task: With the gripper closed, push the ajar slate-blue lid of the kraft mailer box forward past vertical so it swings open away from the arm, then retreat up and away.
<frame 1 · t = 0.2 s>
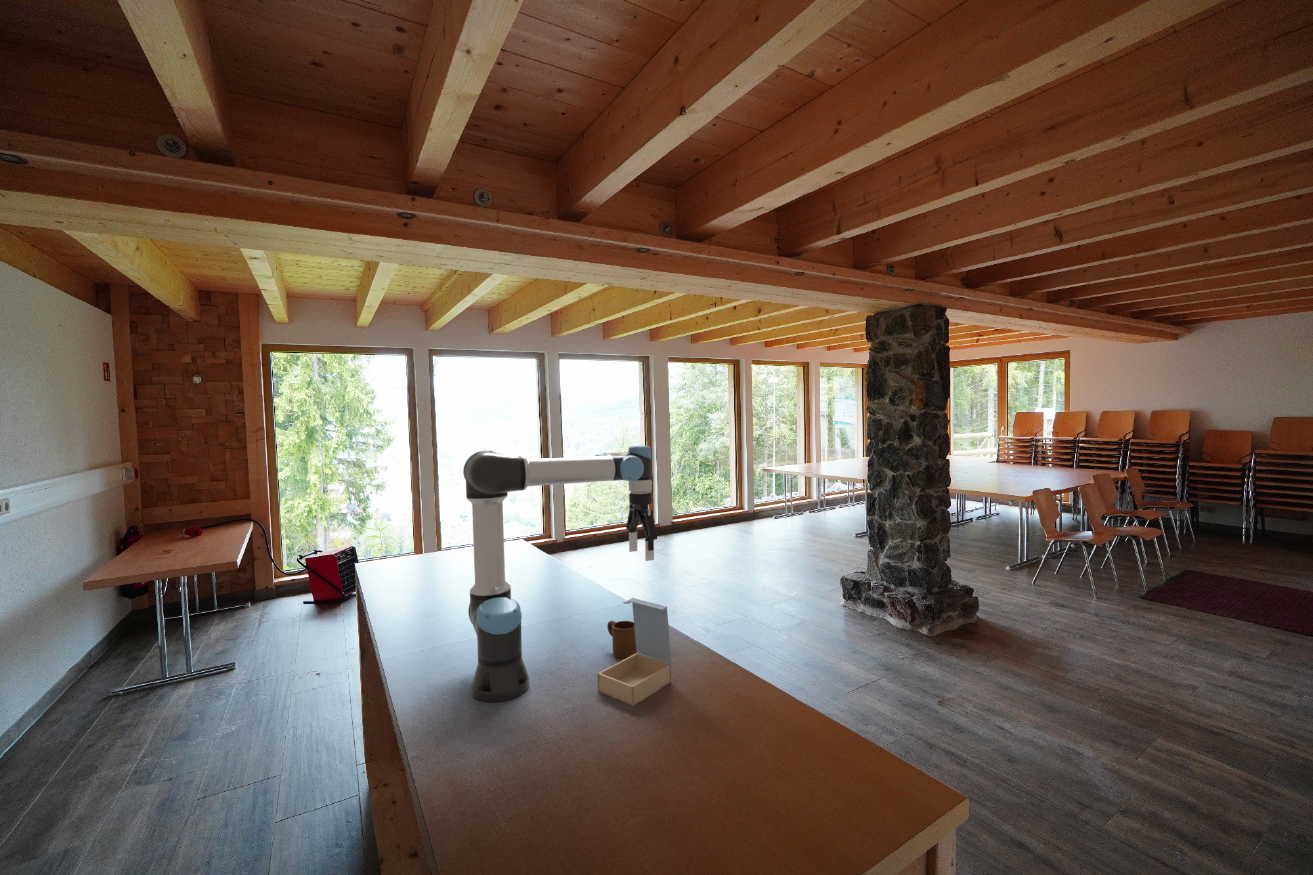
hand: (641, 555, 183), 28 cm above the table, fingers open, 13 cm apart
lid: (649, 631, 156), point 13 cm above the table, hinge at 84.0°
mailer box: (634, 686, 151), on the table
mug: (620, 653, 173), on the table
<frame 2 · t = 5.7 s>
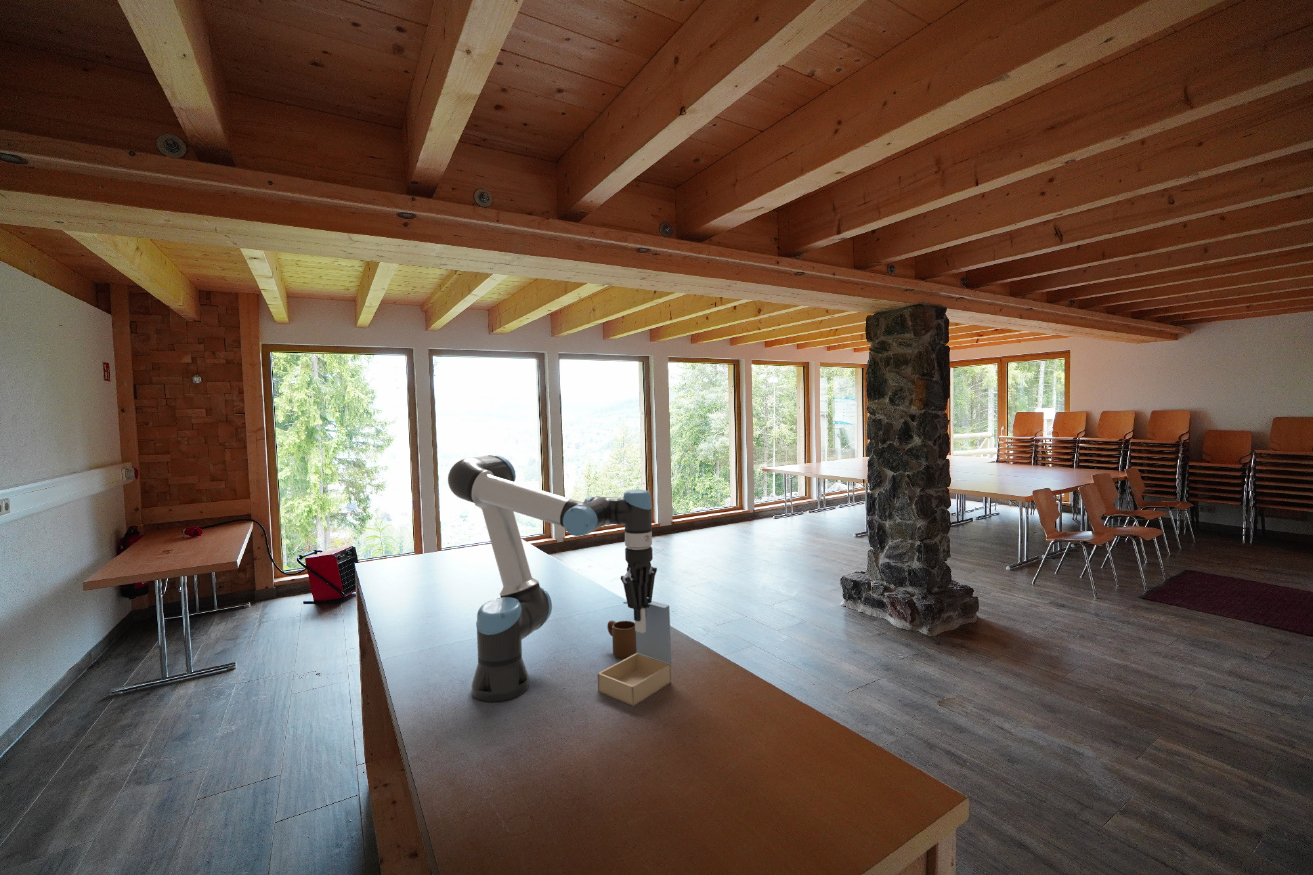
hand: (640, 631, 152), 15 cm above the table, fingers closed
lid: (650, 630, 156), point 13 cm above the table, hinge at 87.8°, touching gripper
everything else where it was.
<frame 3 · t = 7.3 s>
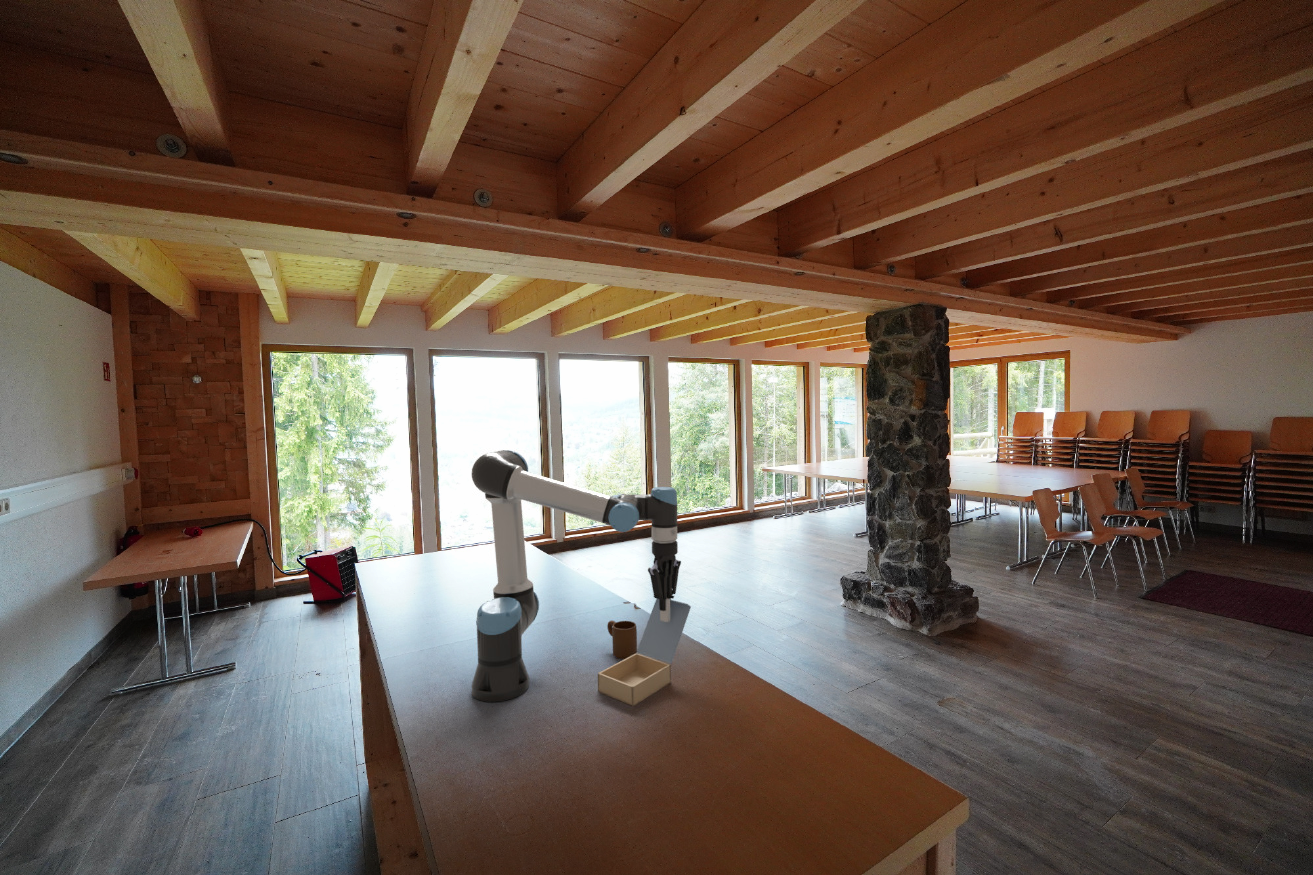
hand: (665, 620, 161), 14 cm above the table, fingers closed
lid: (662, 628, 160), point 12 cm above the table, hinge at 125.8°, touching gripper
everything else where it was.
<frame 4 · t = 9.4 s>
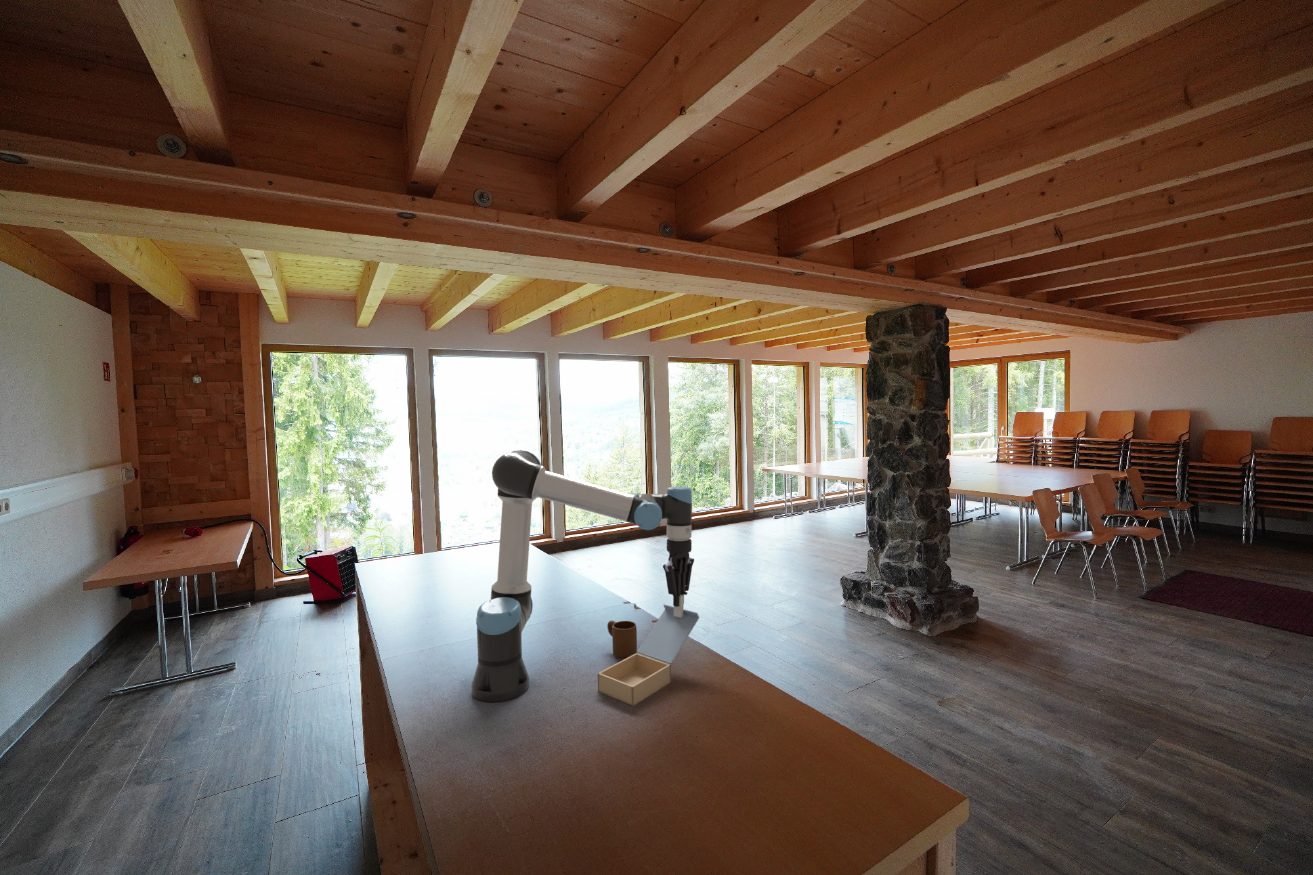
hand: (678, 616, 166), 14 cm above the table, fingers closed
lid: (667, 632, 162), point 10 cm above the table, hinge at 147.3°, touching gripper
everything else where it was.
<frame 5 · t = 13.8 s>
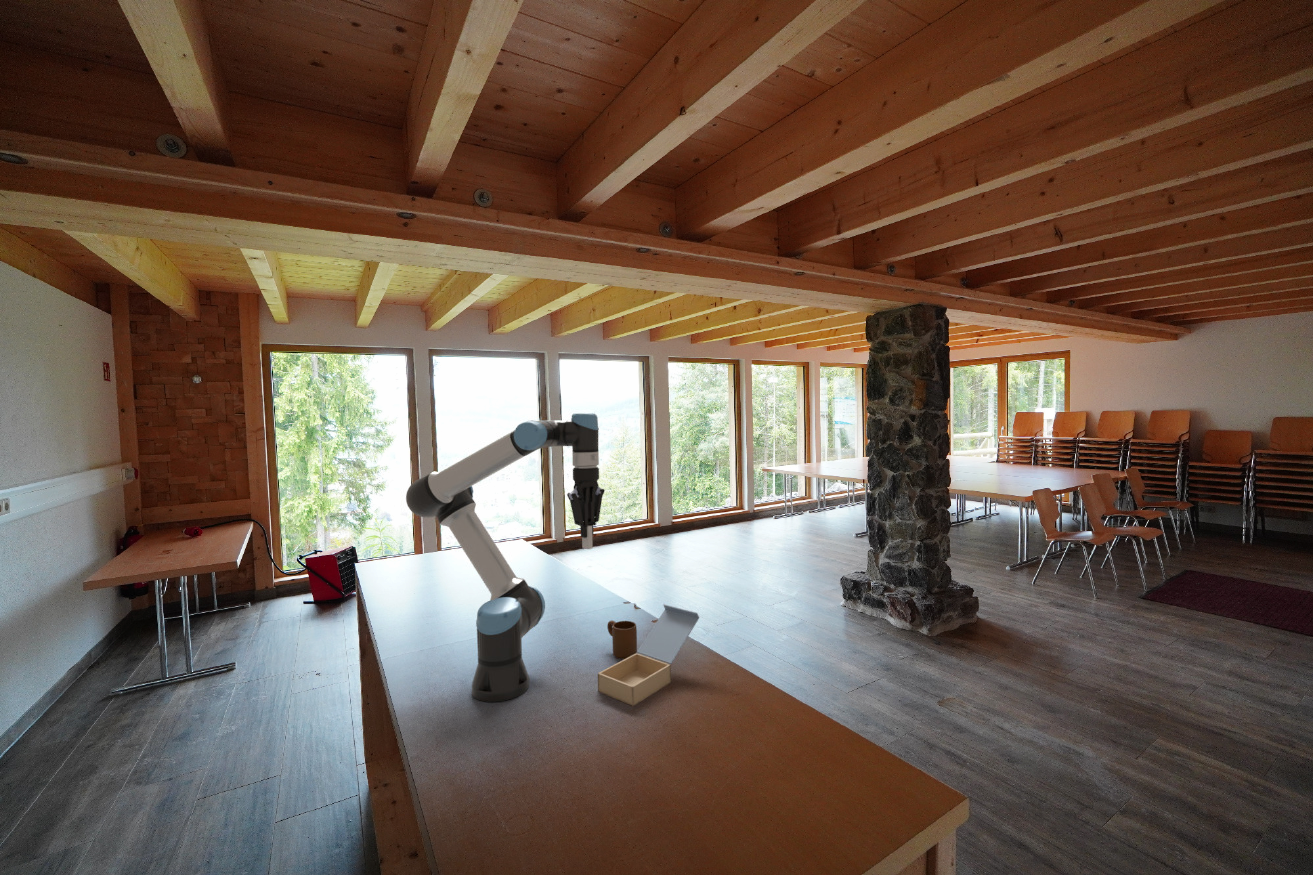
hand: (587, 547, 159), 36 cm above the table, fingers closed
lid: (667, 632, 162), point 10 cm above the table, hinge at 147.4°
everything else where it was.
at the end: lid at +147° (first picture: +84°) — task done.
